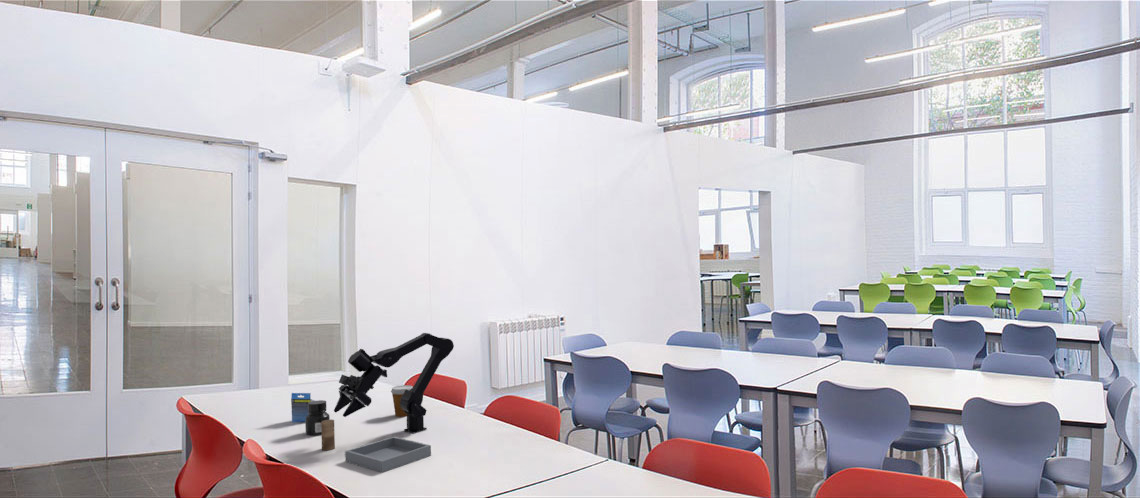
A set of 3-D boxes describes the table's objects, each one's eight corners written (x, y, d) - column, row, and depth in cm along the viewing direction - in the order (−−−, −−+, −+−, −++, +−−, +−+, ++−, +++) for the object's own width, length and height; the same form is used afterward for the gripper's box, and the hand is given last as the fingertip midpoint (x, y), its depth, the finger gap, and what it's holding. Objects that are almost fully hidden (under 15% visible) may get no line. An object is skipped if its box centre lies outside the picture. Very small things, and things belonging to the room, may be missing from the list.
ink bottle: (320, 436, 248) (320, 405, 248) (300, 435, 250) (299, 404, 250) (334, 429, 257) (334, 399, 257) (315, 428, 259) (314, 399, 259)
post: (337, 448, 232) (336, 420, 232) (326, 451, 228) (325, 423, 229) (330, 446, 235) (329, 418, 235) (319, 449, 231) (318, 421, 231)
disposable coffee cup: (411, 417, 273) (410, 389, 273) (388, 418, 273) (388, 389, 273) (416, 412, 283) (416, 384, 283) (395, 412, 283) (394, 385, 283)
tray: (431, 455, 221) (430, 445, 221) (382, 472, 205) (382, 461, 205) (394, 446, 233) (393, 436, 233) (345, 461, 217) (345, 451, 217)
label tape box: (316, 419, 274) (315, 390, 274) (311, 422, 270) (310, 393, 270) (296, 419, 275) (295, 390, 275) (291, 422, 271) (290, 393, 271)
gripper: (343, 363, 245) (314, 396, 238) (362, 369, 231) (331, 405, 223) (364, 381, 250) (336, 414, 243) (383, 388, 236) (354, 423, 228)
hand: (339, 414), depth 234 cm, fingers open, 9 cm apart
